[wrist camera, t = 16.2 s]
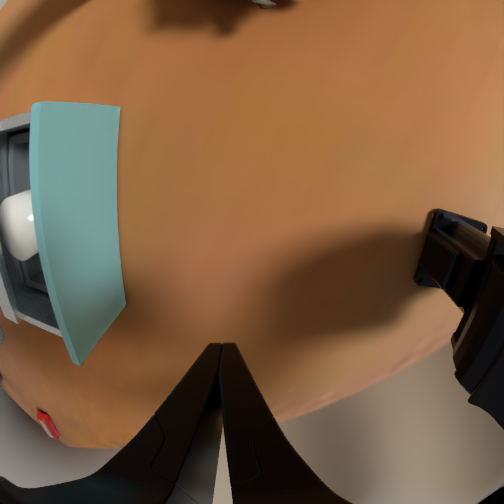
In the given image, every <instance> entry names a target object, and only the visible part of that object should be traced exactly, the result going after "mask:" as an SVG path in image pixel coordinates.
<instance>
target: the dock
mask: <svg viewBox="0 0 504 504" xmlns="http://www.w3.org/2000/svg"><path fill="white" fill-rule="evenodd" d="M30 122H31V111H28V112H25V113H22V114H18V115H15V116H12V117H9V118H6V119H4V120H1V121H0V206H1V203H2V202H3V200H4V199H6V198H8V197H10V196H11V192H10V177H9V137H11V136H15V135H19V134H24V133H29V132H30ZM0 306H1V309H2V311H3V314H4V316H5V317H6V318H7V319H9V320H11V321H13V322H15V323H17V324H19V323H20V322H21V321H22V320H25V321H27V322H29V323H31V324H33V325H35V326H38V327H40V328H42V329H44V330H46V331H49V332H51V333H53V334H56V335H58V336H60V337H62V334H61V332H60V329H59V326H58V323H57V320H56V317H55V314H54V311H53V307H52V304H51V301H50V297H49V294H48V292H45V291H42V290H39V289H36V288H33V287H31V286H28V285H27V282H26V278H25V274H24V270H23V266H22V262H21V260H18V259H16V258H15V257H14V256H13V255H12V254H11V253H10V252H9V250H8V249H7V247H6V245H5V243H4V241H3V239H2V236H1V232H0Z"/></svg>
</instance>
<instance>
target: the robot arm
mask: <svg viewBox="0 0 504 504" xmlns="http://www.w3.org/2000/svg"><path fill="white" fill-rule="evenodd" d="M440 213H441V217H440V218H439V214H440ZM482 228H483V229H482ZM486 232H487V225H486V224H485V223H483V222H480V221H477V220H474V219H471V218H468V217H465V216H462V215H459V214H456V213H453V212H449V211H446V210H443V209H437V210H436V211H435V213H434V216H433V220H432V223H431V227H430V230H429V234H428V235H427V239H426V242H425V245H424V248H423V252H422V255H421V258H420V260H419V265H418V268H417V270H416V273H415V276H414V282H415V283H416V284H417V285H419V286H427V287H436V288H441V289H443V290H444V292H445V293H446V294H447V295H448V296H449V297H450V298H451V300H452V301H453V302H454V303H455V304H456V306H458V307H459V309H460V310H461V311H462V312H463V314H464V315H463V317H462V319H461V321H460V323H459V325H458V328H457V330H456V332H454V333H453V335H452V337H451V343H452V347H453V360H454V364H455V368H456V371H455V377H456V379H457V380H458V381H459V383H460V385H461V386H462V387H463V388H464V389H465V390H466V391H467V392H468V393H469V394H470V395H471V396H470V397H469V399H468V402H469V403H470V404H473V405H475V406H478V407H480V408H482V409H483V410H485V411H486V412H488V413H489V414H490V415H491V416H492V417H493V418H494V419H495V420H496V421H497V422H498V424H499V425H500V426H501V427H502V428H503V429H504V228H499V227H495V226H492V229H491V233H490V234H491V237H489V236H488V235H486ZM419 278H421V279H420V280H418V279H419ZM223 426H224V436H225V444H226V452H227V461H228V469H229V476H230V484H231V487H232V488H231V490H232V498H233V504H352V503H351V502H349V501H347V500H345V499H344V498H342V497H340V496H339V495H337V494H336V493H334V492H333V491H332V490H331V489H330V488H329V487H327V486H326V485H325V484H324V483H323V482H322V481H321V479H320V478H319V477H318V476H317V475H316V474H315V473H314V472H313V470H312V469H311V468H310V467H309V466H308V465H307V464H306V462H305V461H304V460H303V459H302V458H301V457H300V455H299V454H298V453H297V452H296V451H295V449H294V448H293V446H292V445H291V444H290V442H289V441H288V440H287V438H286V437H285V436H284V433H283V432H282V431H281V429H280V427H279V425H278V423H277V422H276V420H275V418H273V415H272V413H271V411H270V409H269V407H268V405H267V404H266V402H265V400H264V398H263V396H262V394H261V392H260V390H259V389H258V387H257V385H256V383H255V381H254V379H253V377H252V375H251V373H250V371H249V369H248V367H247V365H246V363H245V361H244V359H243V357H242V355H241V353H240V351H239V349H238V347H237V345H236V344H235V343H223V344H221V343H210V344H208V346H207V347H206V348H205V350H204V351H203V352H202V353H201V355H200V356H199V357H198V359H197V360H196V361H195V363H194V364H193V365H192V366H191V368H190V369H189V370H188V372H187V373H186V374H185V375H184V377H183V378H182V379H181V381H180V382H179V383H178V384H177V386H176V387H175V388H174V389H173V391H172V392H171V393H170V395H169V396H168V397H167V398H166V400H165V401H164V402H163V403H162V405H161V406H160V407H159V408H158V410H157V411H156V412H155V414H154V415H153V416H152V417H151V418H150V420H149V421H148V422H147V423H146V424H145V426H144V427H143V428H142V429H141V430H140V431H139V433H138V434H137V435H136V436H135V437H134V438H133V439H132V440H131V441H130V442H129V443H128V444H127V445H126V446H125V447H124V448H122V449H121V450H120V451H119V452H118V453H117V454H116V455H115V456H114V457H113V458H112V459H110V460H109V462H107V463H106V464H105V465H104V466H103V467H102V468H100V469H99V470H98V471H97V472H95V473H93V474H91V475H90V476H87V477H85V478H82V479H78V480H74V481H70V482H65V483H61V484H56V485H50V486H45V487H39V488H21V487H18V486H16V485H15V484H13V483H12V482H10V481H9V480H7V479H6V478H4V477H2V476H0V504H212V502H213V494H214V486H215V480H216V472H217V464H218V457H219V449H220V442H221V435H222V427H223ZM476 504H504V484H503V485H502V486H500V487H499V488H498V489H496V490H495V491H493V492H492V493H490V494H489V495H487V496H486V497H485V498H483V499H482V500H480V501H479V502H478V503H476Z"/></svg>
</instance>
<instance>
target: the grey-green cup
mask: <svg viewBox="0 0 504 504" xmlns="http://www.w3.org/2000/svg"><path fill="white" fill-rule="evenodd" d="M3 339H4V336H3V332H2V329H1V327H0V344H1V343H2V341H3Z"/></svg>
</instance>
